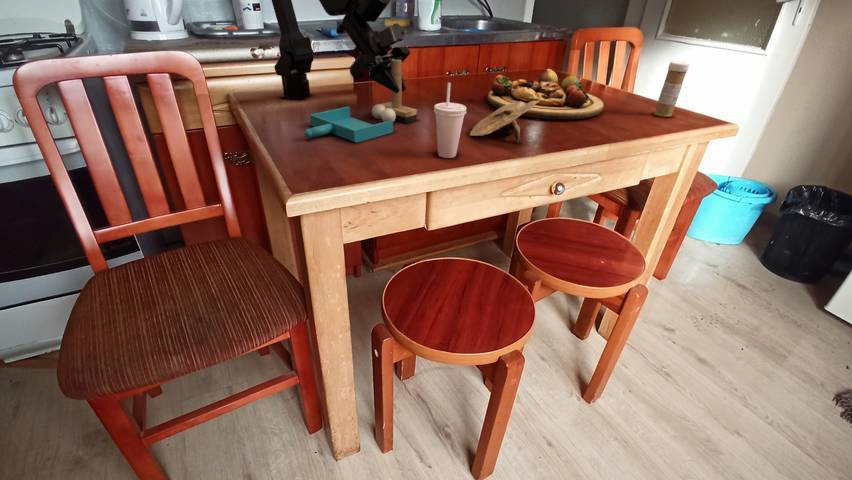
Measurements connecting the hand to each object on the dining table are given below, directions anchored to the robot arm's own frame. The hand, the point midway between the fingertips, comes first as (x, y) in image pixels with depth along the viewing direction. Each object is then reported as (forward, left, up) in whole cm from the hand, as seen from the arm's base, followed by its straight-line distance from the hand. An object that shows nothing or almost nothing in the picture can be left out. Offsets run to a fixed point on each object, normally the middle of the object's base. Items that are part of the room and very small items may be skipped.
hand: (401, 91), depth 110 cm
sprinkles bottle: (+67, +27, -7) cm, 72 cm away
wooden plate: (+35, +26, -7) cm, 44 cm away
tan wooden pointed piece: (+25, -6, -7) cm, 26 cm away
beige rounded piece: (-4, 0, -4) cm, 6 cm away
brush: (-1, +1, -7) cm, 7 cm away
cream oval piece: (-1, -4, -3) cm, 5 cm away
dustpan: (-10, -15, -7) cm, 20 cm away
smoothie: (+16, -22, -7) cm, 28 cm away
